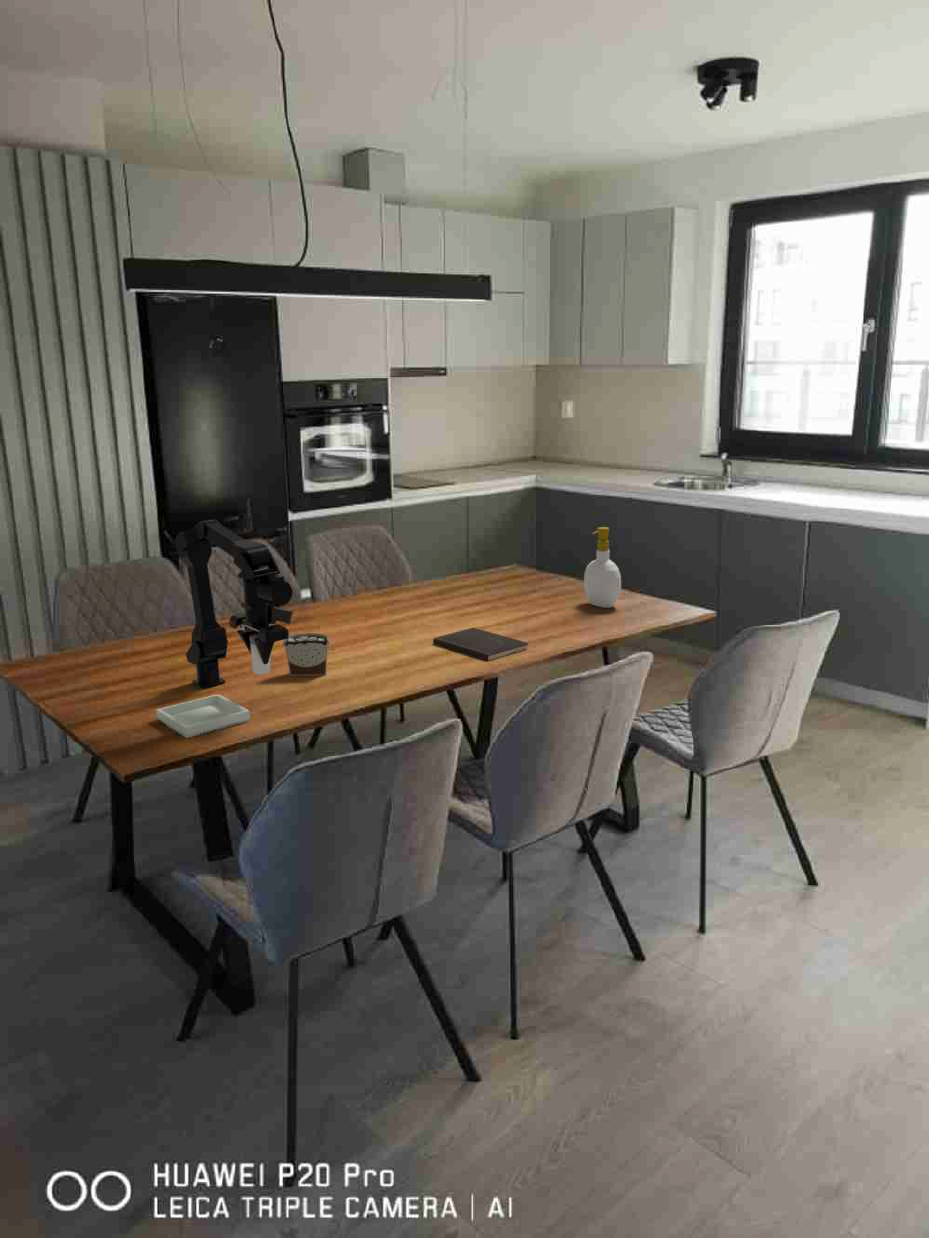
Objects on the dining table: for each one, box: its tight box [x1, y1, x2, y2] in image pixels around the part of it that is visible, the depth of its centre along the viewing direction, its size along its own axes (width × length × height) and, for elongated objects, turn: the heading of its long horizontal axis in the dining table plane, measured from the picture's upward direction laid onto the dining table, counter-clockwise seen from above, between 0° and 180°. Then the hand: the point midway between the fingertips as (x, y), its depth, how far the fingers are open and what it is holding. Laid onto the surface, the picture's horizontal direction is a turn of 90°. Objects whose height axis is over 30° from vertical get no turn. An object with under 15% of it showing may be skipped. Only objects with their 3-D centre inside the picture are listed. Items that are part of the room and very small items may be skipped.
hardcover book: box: [432, 627, 529, 662], centre depth 276 cm, size 16×23×2 cm
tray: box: [156, 693, 251, 739], centre depth 223 cm, size 16×16×2 cm
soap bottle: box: [583, 526, 622, 609], centre depth 314 cm, size 14×9×26 cm, turn 40°
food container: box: [282, 632, 331, 677], centre depth 255 cm, size 12×6×10 cm, turn 92°
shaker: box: [249, 633, 272, 676], centre depth 230 cm, size 5×5×9 cm
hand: (260, 661), depth 231 cm, fingers closed on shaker, 4 cm apart
